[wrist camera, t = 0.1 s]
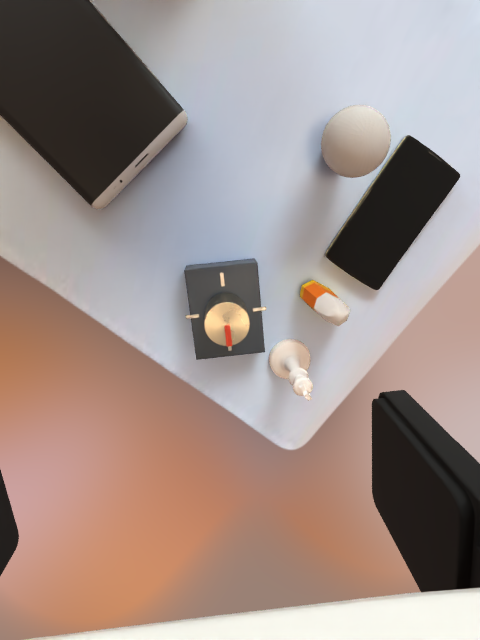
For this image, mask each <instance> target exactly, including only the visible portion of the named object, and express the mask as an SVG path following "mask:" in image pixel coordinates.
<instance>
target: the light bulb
mask: <svg viewBox="0 0 480 640" xmlns="http://www.w3.org/2000/svg"><path fill="white" fill-rule="evenodd" d="M390 141H391V134H390V128H389V125H388V123H387V121H386V119H385V118H384V116H383V115H382V114H381V113H380V112H379V111H377V110H376V109H374V108H372V107H369V106H366V105H353V106H349V107H347V108H344V109H342V110H341V111H339V112H338V113H337V114H335V115H334V116H333V117H332V118H331V120H330V121H329V122H328V124H327V125H326V127H325V130H324V132H323V136H322V141H321V149H322V155H323V158H324V160H325V162H326V164H327V165H328V166H329V168H330V169H331V170H332V171H334V172H335V173H337V174H339V175H341V176H344V177H350V178H354V177H361V176H364V175H366V174H369V173H370V172H372V171H374V170H375V169H376V168H377V167H378V166H379V165H380V164H381V163H382V162H383V160H384V159H385V157H386V155H387V153H388V150H389V147H390Z"/></svg>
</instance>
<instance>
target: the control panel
mask: <svg viewBox="0 0 480 640" xmlns="http://www.w3.org/2000/svg"><path fill="white" fill-rule="evenodd" d="M184 272H185V279H186V286H187V294H188V301H189V308H190V315H186V319H189V318H191V323H192V331H193V338H194V345H195V353H196V359H197V360H198V359H207V358H216V357H225V356H234V355H243V354H252V353H261V352H265V347H264V336H263V324H262V312H261V311H263V310H266V307H261V301H260V289H259V277H258V266H257V262H256V260H255V259H246V260H236V261H227V262H217V263H208V264H198V265H189V266H186V268H185V270H184ZM220 293H232V294H235V295H237V296H238V297H240V298H241V299H242V301H243V302H244V304H245V306H246V310H247V313H248V316H249V321H250V328H249V331H248V333H247V335H246V337H245V338H244V339H243V340H242V341H241V342H239V343H237V344H235V345H232V346H229V347H227V346H222V345H219V344H216V343H215V342H213V341H212V340H211V339H210V338H209V337H208V335H207V334H206V331H205V328H204V320H205V310H206V306H207V304H208V302H209V301H210V299H211V298H212V297H214V296H215V295H217V294H220Z"/></svg>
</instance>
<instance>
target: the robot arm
mask: <svg viewBox="0 0 480 640" xmlns="http://www.w3.org/2000/svg"><path fill="white" fill-rule="evenodd" d="M372 493H373V498H374V502H375V505H376V507H377V509H378V511H379V513H380V515H381V517H382V519H383V521H384V522H385V524H386V526H387V528H388V530H389V532H390V534H391V536H392V538H393V540H394V541H395V543H396V545H397V547H398V549H399V551H400V553H401V555H402V557H403V559H404V560H405V562H406V564H407V566H408V568H409V570H410V572H411V573H412V576H413V577H414V579H415V581H416V583H417V585H418V587H419V589H420V591H421V592H418V593H407V594H399V595H390V596H381V597H372V598H364V599H355V600H346V601H338V602H329V603H320V604H312V605H304V606H295V607H287V608H278V609H269V610H260V611H252V612H243V613H236V614H226V615H219V616H210V617H202V618H194V619H185V620H177V621H169V622H160V623H152V624H145V625H136V626H128V627H120V628H112V629H104V630H96V631H88V632H80V633H72V634H64V635H56V636H48V637H40V638H32V639H25V640H480V464H479V463H478V462H477V461H476V460H475V459H474V458H473V457H472V456H471V455H470V454H469V453H468V452H467V451H466V450H465V449H464V448H463V447H462V446H461V445H460V444H459V443H458V442H457V441H455V440H454V439H453V438H452V437H451V436H450V435H449V434H448V433H447V432H446V431H445V430H444V429H443V428H442V427H441V426H440V425H439V424H438V423H437V422H436V421H435V420H434V419H433V418H432V417H431V416H430V415H429V414H428V413H427V412H426V411H425V410H424V409H423V408H422V407H421V406H420V405H419V404H418V403H417V402H416V401H415V400H414V399H413V398H412V397H411V396H410V395H409V394H408V393H407V392H406V391H405V390H400V391H390V392H382V393H380V395H379V398H378V399H374V400H373V401H372ZM18 537H19V535H18V529H17V525H16V522H15V519H14V515H13V512H12V508H11V505H10V501H9V498H8V495H7V491H6V488H5V484H4V481H3V477H2V474H1V470H0V576H1V574H2V572H3V570H4V569H5V567H6V565H7V564H8V562H9V560H10V558H11V557H12V555H13V553H14V551H15V550H16V547H17V544H18V539H19V538H18Z"/></svg>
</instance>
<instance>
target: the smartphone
mask: <svg viewBox="0 0 480 640" xmlns="http://www.w3.org/2000/svg"><path fill="white" fill-rule="evenodd" d="M459 178H460V174H459V173H458V172H457V171H456V170H455V169H454V168H452V167H451V166H450V165H449V164H448V163H446V162H445V161H444V160H443V159H442V158H441V157H439V156H438V155H437V154H436V153H434V152H433V151H432V150H430V149H429V148H427V147H426V146H425V145H423V144H422V143H420V142H419V141H418V140H416V139H415V138H413V137H411V136H409V135H408V136H406V137H405V138H404V139H403V140H402V141H401V143H400V144H399V146H398V147H397V148H396V150H395V151H394V153H393V154H392V156H391V157H390V158H389V160H388V161H387V163H386V164H385V166H384V167H383V169H382V170H381V171H380V173H379V174H378V176H377V177H376V179H375V180H374V182H373V183H372V184H371V186H370V187H369V189H368V190H367V192H366V193H365V195H364V196H363V198H362V199H361V201H360V202H359V203H358V205H357V206H356V208H355V209H354V211H353V212H352V214H351V215H350V217H349V218H348V220H347V221H346V223H345V224H344V226H343V227H342V229H341V230H340V232H339V233H338V235H337V236H336V238H335V239H334V241H333V242H332V244H331V245H330V247H329V248H328V250H327V251H326V253H325V256H326V257H327V258H328V259H329V260H330V261H331V262H333V263H334V264H335V265H337V266H338V267H339V268H341V269H342V270H344V271H345V272H346V273H348V274H349V275H351V276H352V277H354V278H355V279H357V280H359V281H360V282H362V283H363V284H365V285H367V286H369V287H371V288H372V289H375V290H379V289H380V287H381V286H382V284H383V283H384V282H385V280H386V279H387V277H388V276H389V274H390V273H391V272H392V270H393V269H394V267H395V266H396V265H397V263H398V262H399V260H400V259H401V258H402V256H403V255H404V254H405V252H406V251H407V249H408V248H409V247H410V245H411V244H412V243H413V241H414V240H415V238H416V237H417V236H418V234H419V233H420V232H421V230H422V229H423V227H424V226H425V225H426V223H427V222H428V221H429V219H430V218H431V216H432V215H433V214H434V212H435V211H436V210H437V208H438V207H439V206H440V204H441V203H442V202H443V200H444V199H445V197H446V196H447V195H448V193H449V192H450V191H451V189H452V188H453V186H454V185H455V184H456V182H457V181H458V180H459Z"/></svg>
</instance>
